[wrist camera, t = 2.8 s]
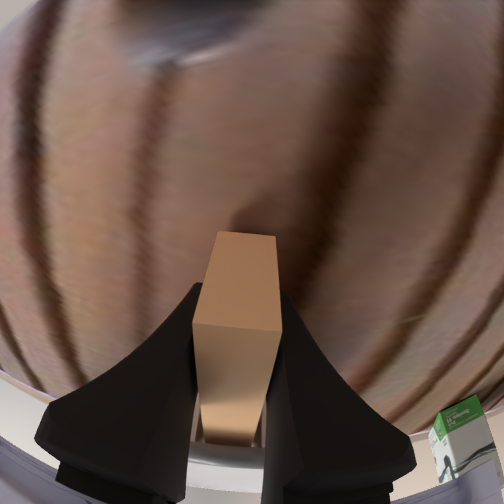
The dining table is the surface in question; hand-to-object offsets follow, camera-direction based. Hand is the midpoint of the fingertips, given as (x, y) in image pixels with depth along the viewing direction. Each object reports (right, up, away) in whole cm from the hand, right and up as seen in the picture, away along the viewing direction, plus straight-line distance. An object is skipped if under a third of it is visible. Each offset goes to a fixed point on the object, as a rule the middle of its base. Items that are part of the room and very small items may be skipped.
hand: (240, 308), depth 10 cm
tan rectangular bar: (0, -3, +3) cm, 4 cm away
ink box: (+22, -16, +11) cm, 30 cm away
